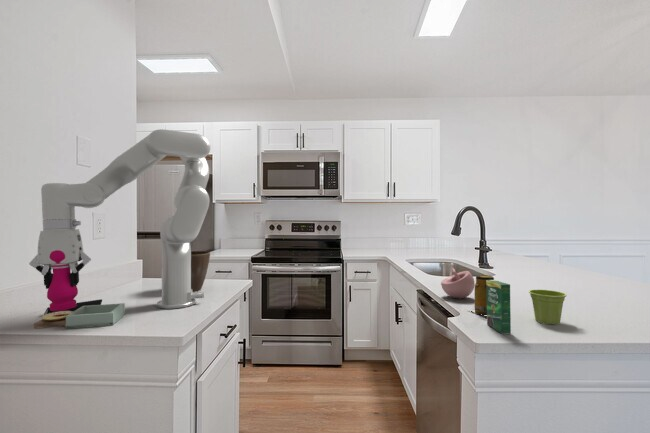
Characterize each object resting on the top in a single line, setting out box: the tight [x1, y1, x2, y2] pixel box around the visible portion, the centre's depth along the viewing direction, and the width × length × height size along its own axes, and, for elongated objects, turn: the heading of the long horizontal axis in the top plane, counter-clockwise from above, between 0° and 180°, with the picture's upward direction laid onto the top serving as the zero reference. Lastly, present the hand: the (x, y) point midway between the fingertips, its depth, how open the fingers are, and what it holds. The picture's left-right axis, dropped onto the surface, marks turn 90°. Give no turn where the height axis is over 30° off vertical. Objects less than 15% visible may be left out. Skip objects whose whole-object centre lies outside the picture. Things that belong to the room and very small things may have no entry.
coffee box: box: [486, 279, 512, 335], centre depth 93 cm, size 8×3×13 cm, turn 1°
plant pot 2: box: [528, 289, 567, 325], centre depth 99 cm, size 9×9×9 cm
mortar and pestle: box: [440, 267, 476, 299], centre depth 129 cm, size 12×12×12 cm
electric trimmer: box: [43, 298, 103, 315], centre depth 111 cm, size 4×16×3 cm, turn 138°
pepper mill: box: [46, 250, 79, 311], centre depth 99 cm, size 7×7×20 cm
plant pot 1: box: [191, 250, 211, 292], centre depth 142 cm, size 15×15×16 cm
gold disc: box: [41, 311, 73, 321], centre depth 98 cm, size 7×7×2 cm
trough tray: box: [65, 302, 126, 330], centre depth 100 cm, size 12×12×4 cm
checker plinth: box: [33, 319, 66, 329], centre depth 98 cm, size 8×8×1 cm
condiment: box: [468, 274, 495, 318], centre depth 108 cm, size 7×8×12 cm
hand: (62, 286), depth 99 cm, fingers closed on pepper mill, 5 cm apart
